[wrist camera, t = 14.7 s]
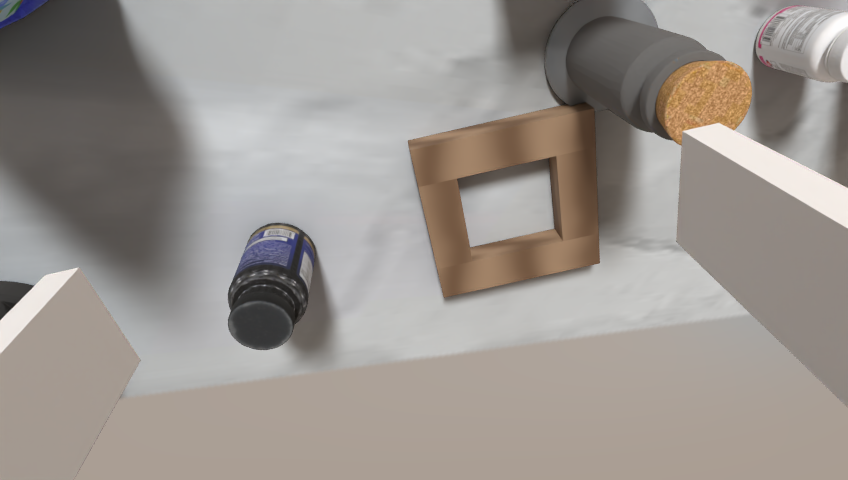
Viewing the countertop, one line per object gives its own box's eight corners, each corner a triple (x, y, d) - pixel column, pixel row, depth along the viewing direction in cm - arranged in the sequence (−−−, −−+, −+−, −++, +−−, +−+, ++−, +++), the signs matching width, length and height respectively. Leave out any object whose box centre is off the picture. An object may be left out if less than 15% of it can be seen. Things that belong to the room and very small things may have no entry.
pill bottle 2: (815, 48, 42) (909, 68, 35) (759, 77, 43) (838, 103, 36) (808, -9, 40) (906, 1, 33) (748, 24, 41) (831, 40, 33)
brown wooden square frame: (440, 283, 50) (443, 297, 48) (407, 140, 43) (409, 150, 41) (590, 250, 50) (599, 263, 48) (583, 100, 43) (594, 108, 40)
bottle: (652, 50, 40) (784, 98, 27) (596, 107, 42) (694, 178, 29) (606, -3, 38) (725, 23, 25) (549, 60, 40) (632, 114, 27)
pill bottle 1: (235, 254, 47) (200, 332, 37) (272, 207, 45) (245, 277, 35) (292, 288, 49) (273, 369, 40) (329, 244, 47) (319, 320, 38)
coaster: (549, 119, 43) (551, 122, 43) (539, 5, 39) (542, 6, 38) (654, 96, 43) (657, 97, 42) (657, -22, 38) (661, -22, 38)
